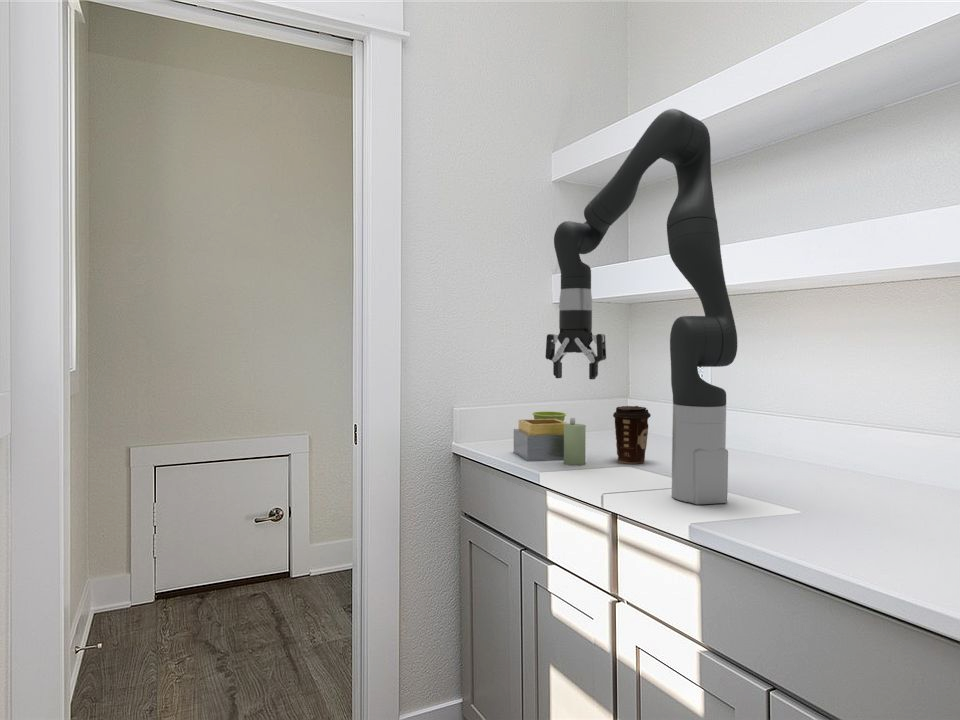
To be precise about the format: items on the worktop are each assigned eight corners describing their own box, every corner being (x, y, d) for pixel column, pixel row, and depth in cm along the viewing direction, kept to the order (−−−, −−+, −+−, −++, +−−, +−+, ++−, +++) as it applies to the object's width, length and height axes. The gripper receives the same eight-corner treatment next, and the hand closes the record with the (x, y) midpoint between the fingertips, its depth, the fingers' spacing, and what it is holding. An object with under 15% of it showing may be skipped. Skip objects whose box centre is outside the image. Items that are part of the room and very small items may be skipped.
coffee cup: (647, 458, 155) (647, 405, 155) (653, 465, 147) (653, 409, 147) (611, 458, 156) (611, 405, 156) (614, 464, 148) (615, 408, 148)
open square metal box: (574, 459, 155) (574, 424, 155) (527, 461, 152) (527, 425, 152) (557, 450, 167) (558, 418, 166) (513, 452, 164) (513, 419, 164)
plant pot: (571, 443, 178) (571, 412, 178) (557, 448, 170) (557, 416, 170) (541, 440, 183) (541, 410, 183) (526, 445, 175) (526, 413, 175)
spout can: (588, 465, 148) (588, 419, 147) (568, 465, 147) (568, 420, 146) (580, 460, 153) (580, 417, 152) (560, 461, 152) (560, 417, 151)
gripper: (610, 309, 148) (610, 379, 148) (554, 310, 155) (554, 376, 156) (598, 307, 142) (597, 380, 142) (540, 309, 149) (540, 378, 150)
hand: (575, 378), depth 149 cm, fingers open, 8 cm apart
